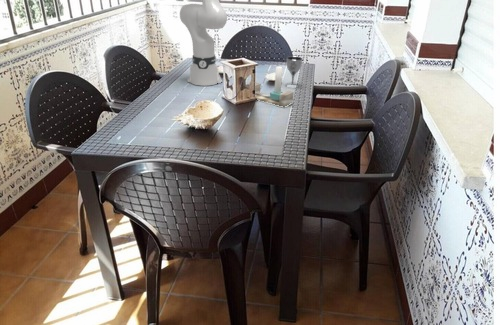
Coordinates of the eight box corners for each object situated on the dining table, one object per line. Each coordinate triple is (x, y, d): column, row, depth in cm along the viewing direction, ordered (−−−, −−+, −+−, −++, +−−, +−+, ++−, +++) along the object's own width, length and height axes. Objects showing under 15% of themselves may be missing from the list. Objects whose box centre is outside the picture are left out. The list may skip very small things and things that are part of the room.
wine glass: (285, 88, 212) (287, 59, 205) (284, 84, 219) (286, 56, 212) (300, 88, 212) (303, 60, 205) (298, 84, 219) (301, 56, 212)
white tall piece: (269, 98, 189) (271, 67, 183) (275, 95, 193) (277, 65, 186) (278, 100, 187) (280, 69, 180) (284, 97, 190) (286, 67, 184)
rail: (246, 97, 197) (246, 85, 194) (255, 94, 202) (255, 82, 199) (284, 108, 185) (285, 95, 182) (292, 104, 190) (293, 92, 187)
